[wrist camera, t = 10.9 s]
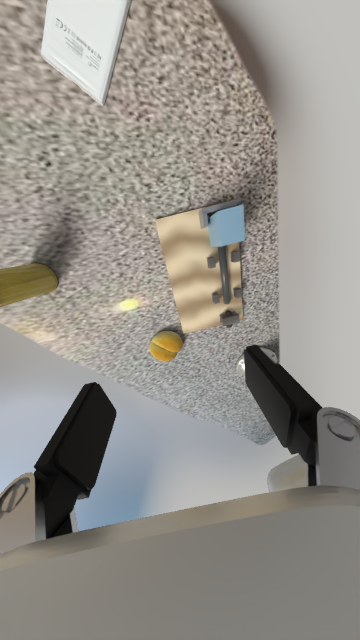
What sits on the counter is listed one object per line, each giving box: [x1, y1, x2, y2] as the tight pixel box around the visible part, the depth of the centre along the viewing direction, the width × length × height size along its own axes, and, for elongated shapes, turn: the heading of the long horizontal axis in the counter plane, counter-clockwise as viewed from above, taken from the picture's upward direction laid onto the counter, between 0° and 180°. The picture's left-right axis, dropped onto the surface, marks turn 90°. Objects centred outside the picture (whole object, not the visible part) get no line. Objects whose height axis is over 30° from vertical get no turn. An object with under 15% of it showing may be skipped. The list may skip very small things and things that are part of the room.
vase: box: [0, 263, 58, 307], centre depth 26 cm, size 6×6×14 cm
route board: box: [155, 199, 243, 333], centre depth 34 cm, size 27×16×3 cm, turn 13°
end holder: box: [198, 198, 242, 229], centre depth 28 cm, size 3×7×3 cm, turn 103°
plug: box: [208, 204, 245, 305], centre depth 30 cm, size 18×4×7 cm, turn 13°
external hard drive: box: [41, 0, 131, 107], centre depth 20 cm, size 2×8×12 cm
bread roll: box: [149, 331, 183, 361], centre depth 40 cm, size 8×9×4 cm
